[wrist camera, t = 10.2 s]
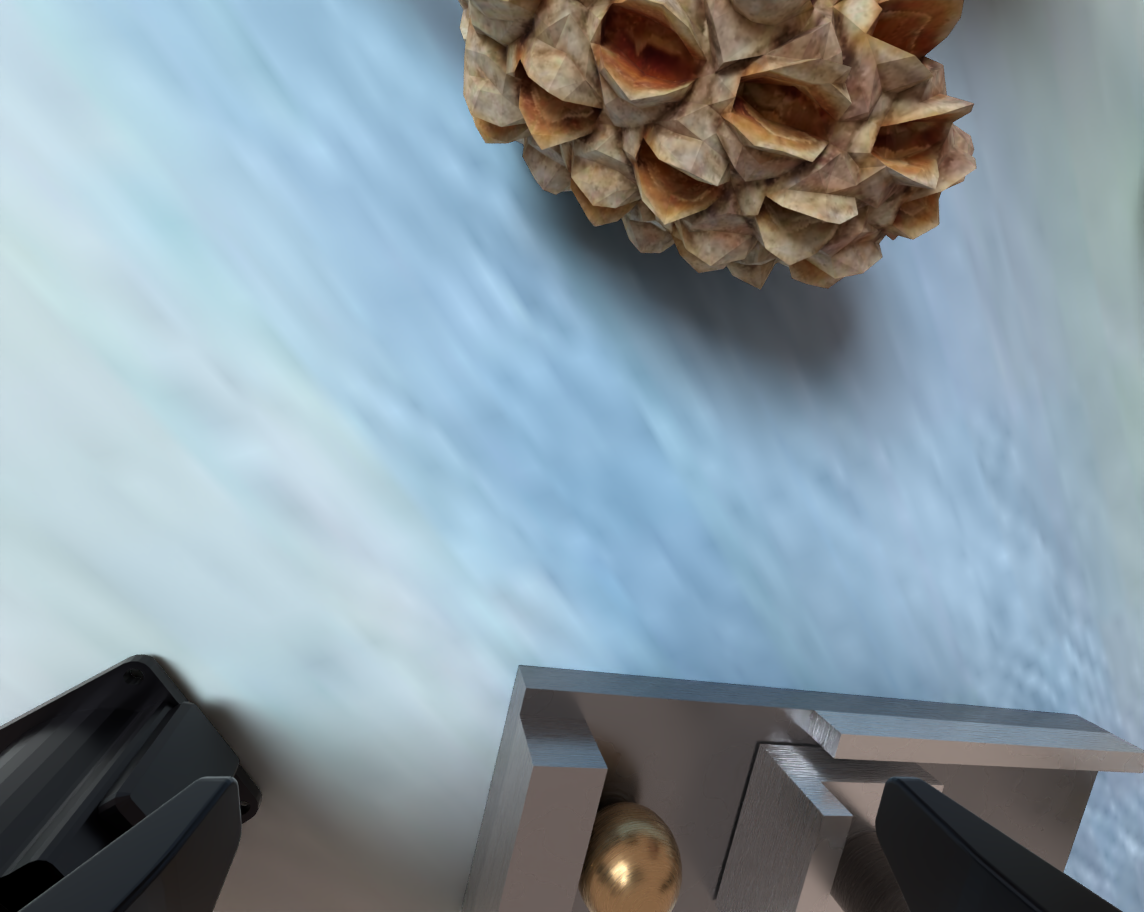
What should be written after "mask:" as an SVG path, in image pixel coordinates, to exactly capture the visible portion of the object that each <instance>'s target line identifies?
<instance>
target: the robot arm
mask: <svg viewBox="0 0 1144 912" xmlns="http://www.w3.org/2000/svg"><path fill="white" fill-rule="evenodd" d="M130 669H138V670H140V671H141V672H142V673H143V676H144V677H142V678H138V677H134V676H133V675H132V674H131V672H130ZM261 800H262V794H261V792H260V790H259V788H258V787H257V786H256V785H255V784H254V782H253V781H252V780H251V779H250V777H249V776H248V775H247V774H246V772H245V771H244V770H243V769H242V767H241V766H240V765H239V758H238V757H237V755H236V754H235V753H234V752H233V750H232V749H231V748H230V747H229V745H228V744H227V743H226V742H225V740H224V739H223V738H222V737H221V735H220V734H219V733H218V732H217V730H216V729H215V728H214V727H213V725H212V724H211V723H210V722H209V720H208V719H207V718H206V717H205V715H204V714H203V713H202V712H201V710H200V709H199V708H198V707H197V705H196V704H194V703H191V702H189V701H188V700H187V699H186V697H185V696H184V695H183V694H182V692H181V691H180V690H179V689H178V688H177V686H176V685H175V684H174V683H173V681H172V680H171V679H170V678H169V676H168V675H167V674H166V673H165V671H164V670H163V669H162V668H161V666H160V665H159V664H158V663H157V661H156V660H154V659H153V658H152V657H150V656H147V655H134V656H131V657H129V658H127V659H125V660H123V661H121V662H120V663H118V664H116V665H114V666H112V667H110V668H108V669H107V670H105V671H103V672H101V673H99V674H97V675H95V676H93V677H92V678H90V679H88V680H86V681H84V682H82V683H80V684H79V685H77V686H75V687H73V688H71V689H69V690H67V691H65V692H64V693H62V694H60V695H58V696H56V697H54V698H52V699H51V700H49V701H47V702H45V703H43V704H41V705H39V706H37V707H36V708H34V709H32V710H30V711H28V712H26V713H24V714H23V715H21V716H19V717H17V718H15V719H13V720H11V721H10V722H8V723H6V724H4V725H2V726H0V912H213V909H214V907H215V904H216V902H217V899H218V896H219V894H220V891H221V889H222V886H223V884H224V881H225V879H226V876H227V874H228V871H229V869H230V866H231V863H232V861H233V858H234V856H235V853H236V851H237V848H238V845H239V841H240V837H241V831H242V824H243V823H244V822H246V821H247V820H249V819H251V818H252V817H253V816H254V815H255V814H256V812H257V810H258V808H259V806H260V803H261ZM240 801H246V802H248V803H249V805H246V806H242V805H240ZM875 829H876V835H877V838H878V841H879V844H880V846H881V848H882V850H883V853H884V855H885V857H886V859H887V862H888V864H889V866H890V868H891V871H892V873H893V875H894V877H895V880H896V882H897V884H898V886H899V889H900V891H901V893H902V895H903V898H904V900H905V902H906V904H907V907H908V909H909V911H910V912H1122V911H1121V910H1119V909H1118V908H1116V907H1115V906H1113V905H1112V904H1110V903H1109V902H1107V901H1106V900H1104V899H1103V898H1101V897H1100V896H1098V895H1096V894H1095V893H1093V892H1092V891H1090V890H1089V889H1087V888H1086V887H1084V886H1083V885H1081V884H1080V883H1078V882H1077V881H1075V880H1074V879H1072V878H1071V877H1069V876H1068V875H1066V874H1065V873H1063V872H1062V871H1060V870H1059V869H1057V868H1055V867H1054V866H1052V865H1051V864H1049V863H1048V862H1046V861H1045V860H1043V859H1042V858H1040V857H1039V856H1037V855H1036V854H1034V853H1033V852H1031V851H1030V850H1028V849H1027V848H1025V847H1024V846H1022V845H1021V844H1019V843H1018V842H1016V841H1015V840H1013V839H1011V838H1010V837H1008V836H1007V835H1005V834H1004V833H1002V832H1001V831H999V830H998V829H996V828H995V827H993V826H992V825H990V824H989V823H987V822H986V821H984V820H983V819H981V818H980V817H978V816H977V815H975V814H974V813H972V812H971V811H969V810H967V809H966V808H964V807H963V806H961V805H960V804H958V803H957V802H955V801H954V800H952V799H951V798H949V797H948V796H946V795H945V794H943V793H942V792H940V791H939V790H937V789H936V788H934V787H933V786H931V785H930V784H928V783H927V782H925V781H923V780H922V779H920V778H916V777H891V778H889V779H888V780H887V781H886V783H885V786H884V789H883V793H882V797H881V800H880V804H879V808H878V811H877V815H876V819H875Z"/></svg>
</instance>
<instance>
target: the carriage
mask: <svg viewBox="0 0 1144 912" xmlns="http://www.w3.org/2000/svg"><path fill="white" fill-rule="evenodd" d="M891 777H916V778H920V779H922V780H923V781H925V782H927V783H928V784H930V785H931V786H933V787H934V788H936V789H937V790H939V791H940V792H942V791H943V787H944V785H943V784H942V783H940V782H939V781H938V780H937V779H935V778H934V777H933V776H932V775H930V774H929V773H928V772H927V771H925V770H924V769H923V768H922V767H920V766H919V765H918V764H917V763H915V762H898V761H877V760H856V759H835V758H833V757H832V756H831V755H830V754H829V753H828V752H827V751H826V750H825V749H824V748H823V747H809V746H790V745H772V744H760V745H759V749H758V752H757V756H756V759H755V763H754V766H753V770H752V774H751V777H750V781H749V784H748V788H747V791H746V795H745V799H744V802H743V806H742V809H741V813H740V816H739V820H738V823H737V827H736V831H735V834H734V838H733V841H732V845H731V848H730V852H729V856H728V859H727V863H726V866H725V870H724V873H723V877H722V880H721V884H720V888H719V891H718V895H717V898H716V902H715V906H716V908H717V909H718V911H719V912H910V911H909V909H908V907H907V904H906V902H905V900H904V898H903V895H902V893H901V891H900V889H899V886H898V884H897V882H896V880H895V877H894V875H893V873H892V871H891V868H890V866H889V864H888V862H887V859H886V857H885V855H884V853H883V850H882V848H881V846H880V844H879V841H878V838H877V835H876V829H875V819H876V815H877V811H878V808H879V804H880V800H881V797H882V793H883V789H884V786H885V783H886V781H887V780H888V779H889V778H891Z"/></svg>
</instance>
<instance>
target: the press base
mask: <svg viewBox="0 0 1144 912" xmlns="http://www.w3.org/2000/svg"><path fill="white" fill-rule="evenodd" d="M760 744H772V745H790V746H809V747H823V748H824V749H825V750H826V751H827V752H828V753H829V754H830V755H831V756H832V757H833V758H835V759H856V760H877V761H898V762H915V763H917V764H918V765H919V766H920V767H922V768H923V769H924V770H925V771H927V772H928V773H929V774H930V775H932V776H933V777H934V778H935V779H937V780H938V781H939V782H940V783H942V784H943V785H944V787H943V791H942V793H943V794H945V795H946V796H948V797H949V798H951V799H952V800H954V801H955V802H957V803H958V804H960V805H961V806H963V807H964V808H966V809H967V810H969V811H971V812H972V813H974V814H975V815H977V816H978V817H980V818H981V819H983V820H984V821H986V822H987V823H989V824H990V825H992V826H993V827H995V828H996V829H998V830H999V831H1001V832H1002V833H1004V834H1005V835H1007V836H1008V837H1010V838H1011V839H1013V840H1015V841H1016V842H1018V843H1019V844H1021V845H1022V846H1024V847H1025V848H1027V849H1028V850H1030V851H1031V852H1033V853H1034V854H1036V855H1037V856H1039V857H1040V858H1042V859H1043V860H1045V861H1046V862H1048V863H1049V864H1051V865H1052V866H1054V867H1055V868H1057V869H1059V870H1060V871H1062V872H1064V869H1065V866H1066V863H1067V860H1068V857H1069V854H1070V851H1071V848H1072V845H1073V843H1074V840H1075V837H1076V834H1077V831H1078V828H1079V825H1080V822H1081V819H1082V816H1083V813H1084V810H1085V808H1086V805H1087V802H1088V799H1089V796H1090V793H1091V790H1092V787H1093V784H1094V781H1095V778H1096V775H1097V773H1098V771H1110V772H1131V773H1143V770H1144V750H1142V749H1140V748H1138V747H1136V746H1134V745H1133V744H1131V743H1129V742H1127V741H1125V740H1123V739H1121V738H1119V737H1117V736H1116V735H1114V734H1112V733H1110V732H1108V731H1106V730H1104V729H1102V728H1100V727H1099V726H1097V725H1095V724H1093V723H1091V722H1089V721H1087V720H1085V719H1083V718H1081V717H1080V716H1078V715H1073V714H1061V713H1050V712H1039V711H1028V710H1016V709H1005V708H994V707H983V706H972V705H960V704H949V703H938V702H927V701H916V700H904V699H893V698H882V697H871V696H859V695H848V694H837V693H826V692H815V691H803V690H792V689H781V688H770V687H758V686H747V685H736V684H725V683H714V682H702V681H691V680H680V679H669V678H658V677H646V676H635V675H624V674H613V673H601V672H590V671H579V670H568V669H557V668H545V667H534V666H523V665H519V666H518V671H517V675H516V679H515V683H514V688H513V692H512V696H511V700H510V705H509V709H508V713H507V718H506V722H505V726H504V730H503V735H502V739H501V743H500V747H499V752H498V756H497V760H496V765H495V769H494V773H493V777H492V782H491V786H490V790H489V794H488V799H487V803H486V807H485V812H484V816H483V820H482V824H481V829H480V833H479V837H478V841H477V846H476V850H475V854H474V859H473V863H472V867H471V871H470V876H469V880H468V884H467V888H466V893H465V897H464V901H463V906H462V912H719V911H718V909H717V908H716V906H715V902H716V898H717V895H718V891H719V888H720V884H721V880H722V877H723V873H724V870H725V866H726V863H727V859H728V856H729V852H730V848H731V845H732V841H733V838H734V834H735V831H736V827H737V823H738V820H739V816H740V813H741V809H742V806H743V802H744V799H745V795H746V791H747V788H748V784H749V781H750V777H751V774H752V770H753V766H754V763H755V759H756V756H757V752H758V749H759V745H760Z"/></svg>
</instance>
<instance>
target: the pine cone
mask: <svg viewBox="0 0 1144 912" xmlns="http://www.w3.org/2000/svg"><path fill="white" fill-rule="evenodd" d="M458 1H459V3H460V5H461V6H462V8H463V14H462V19H461V24H460V30H461V33H462V35H463V38H464V41H465V44H466V45H465V56H464V91H463V95H464V98H465V100H466V103H467V105H468V108H469V111H470V113H471V115H472V117H473V120H474V123H475V125H476V127H477V129H478V131H479V133H480V134H481V136H482V138H483V139H484V141H485V143H510V142H513V141H518V142H520V143H522V144H523V146H524V149H523V158H524V160H525V162H526V164H527V166H528V167H529V169H530V171H531V173H532V175H533V177H534V178H535V180H536V181H537V183H538V184H539V185H540V186H541V188H542V189H543V190H545V191H548V192H550V193H553V194H555V195H556V194H558V193H560V192H564V191H573V193H574V195H575V197H576V198H577V200H578V202H579V204H580V205H581V207H582V209H583V211H584V212H585V214H586V216H587V218H588V219H589V220H590V222H591V223H592V224H593V225H594V226H595V227H596V226H600V225H604V224H608V223H613V222H617V221H619V220H620V219H621V218H622V221H623V224H624V227H625V229H626V232H627V235H628V238H629V240H630V241H631V242H632V243H633V244H634V246H635V247H636V248H637V249H638V250H639V251H640V253H662V252H663V251H665V250H666V249H668V248H669V247H670V246H672V245H673V244H675V245H676V247H677V249H678V252H679V254H680V255H681V256H682V257H683V258H684V259H685V260H686V261H687V262H688V263H689V264H690V265H691V266H692V267H693V268H694V269H695V270H696V271H697V272H698V273H702V272H708V271H714V270H720V269H724V268H725V267H726V266H727V267H728V269H729V271H730V272H731V274H732V275H733V276H734V277H736V278H738V279H740V280H742V281H744V282H746V283H748V284H750V285H752V286H754V287H756V288H758V289H760V290H761V288H762V287H763V285H764V283H765V281H766V279H767V278H768V276H769V274H770V272H771V271H772V269H773V267H774V265H775V264H776V263H780V264H782V265H785V266H787V267H789V270H790V273H791V277H792V279H795V280H797V281H800V282H803V283H805V284H809V285H813V286H818V287H822V288H827V289H828V288H830V287H831V286H832V285H834V284H835V283H837V282H838V281H839V280H841V279H842V278H843V277H846V276H852V275H857V274H862V273H864V272H865V271H866V270H868V269H869V268H870V267H871V266H872V265H874V264H875V263H876V262H877V261H879V260H880V259H881V258H882V253H881V249H880V245H879V243H880V242H881V240H882V239H883V238H884V237H885V236H886V235H887V236H888V237H889V238H891V239H892V240H894V239H895V238H896V237H897V236H902V237H906V238H909V239H915V238H917V237H919V236H920V235H922V234H924V233H926V232H927V231H929V230H931V229H933V228H935V227H936V226H938V225H939V197H940V194H941V192H942V191H943V190H945V189H947V188H949V187H951V186H954V185H956V184H958V183H961V182H963V181H964V178H965V176H966V175H967V174H969V173H970V172H972V171H973V170H975V169H976V161H975V158H974V157H972V154H973V151H974V147H973V143H972V140H971V136H970V135H968V134H967V133H965V132H964V131H962V130H961V129H960V128H958V127H957V126H955V125H954V124H953V122H954V121H956V120H958V119H959V118H961V117H963V116H964V115H966V114H968V113H969V112H971V110H972V108H973V105H974V103H970V102H967V101H964V100H960V99H957V98H954V97H950V96H947V93H946V84H945V76H944V67H943V65H942V64H940V63H938V62H935V61H933V60H931V59H929V58H927V57H925V55H926V54H927V53H929V52H930V51H931V50H932V49H933V48H934V47H936V46H937V45H938V44H939V43H940V42H942V41H943V40H944V39H945V38H946V37H947V36H948V35H949V34H950V32H951V31H952V29H953V28H954V26H955V25H956V24H957V22H958V21H959V19H960V18H961V13H962V7H963V2H964V0H458Z"/></svg>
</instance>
